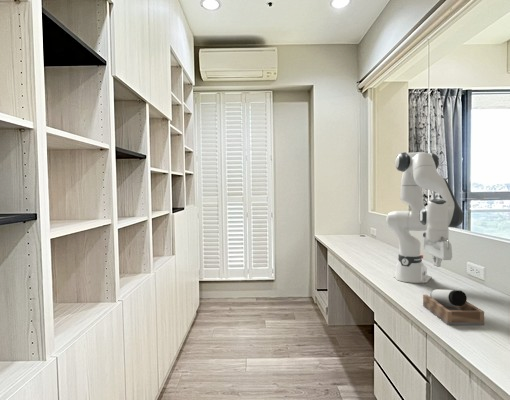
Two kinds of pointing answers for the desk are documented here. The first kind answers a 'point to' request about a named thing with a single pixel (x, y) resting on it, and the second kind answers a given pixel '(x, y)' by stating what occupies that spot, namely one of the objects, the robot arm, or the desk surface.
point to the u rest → (455, 312)
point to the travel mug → (449, 297)
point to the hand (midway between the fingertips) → (437, 266)
